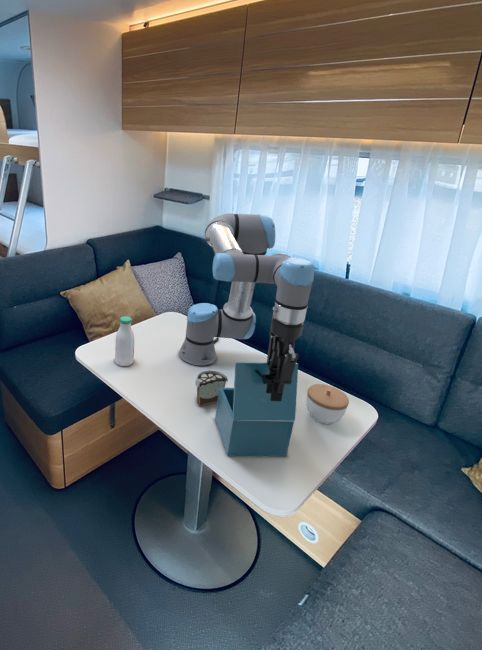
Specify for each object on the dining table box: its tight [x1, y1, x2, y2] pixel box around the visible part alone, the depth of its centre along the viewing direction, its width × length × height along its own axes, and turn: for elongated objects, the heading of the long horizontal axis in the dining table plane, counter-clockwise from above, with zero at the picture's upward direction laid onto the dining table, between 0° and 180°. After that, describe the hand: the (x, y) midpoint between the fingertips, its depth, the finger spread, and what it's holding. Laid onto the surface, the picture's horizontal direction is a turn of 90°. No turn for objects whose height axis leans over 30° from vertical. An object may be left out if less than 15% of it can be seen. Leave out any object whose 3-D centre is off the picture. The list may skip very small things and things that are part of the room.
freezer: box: [214, 387, 295, 457], centre depth 128 cm, size 16×18×13 cm
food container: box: [194, 370, 229, 407], centre depth 147 cm, size 12×6×10 cm, turn 111°
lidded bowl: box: [305, 383, 350, 425], centre depth 139 cm, size 13×13×11 cm
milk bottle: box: [114, 315, 135, 367], centre depth 166 cm, size 8×8×20 cm
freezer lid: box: [233, 361, 299, 422], centre depth 114 cm, size 17×18×9 cm
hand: (273, 396), depth 112 cm, fingers closed on freezer lid, 3 cm apart
